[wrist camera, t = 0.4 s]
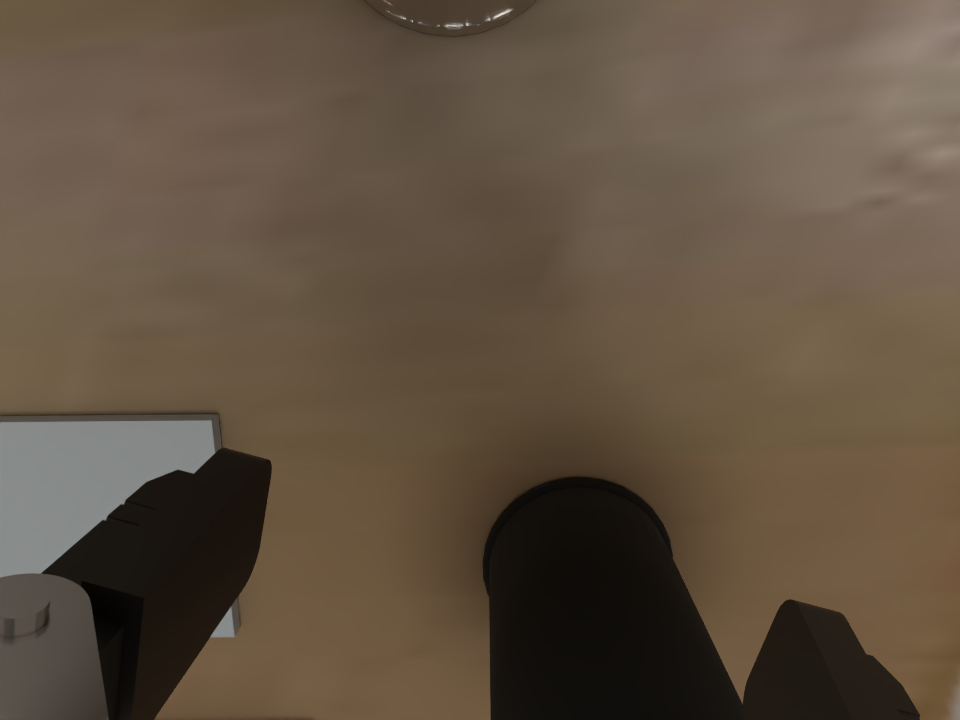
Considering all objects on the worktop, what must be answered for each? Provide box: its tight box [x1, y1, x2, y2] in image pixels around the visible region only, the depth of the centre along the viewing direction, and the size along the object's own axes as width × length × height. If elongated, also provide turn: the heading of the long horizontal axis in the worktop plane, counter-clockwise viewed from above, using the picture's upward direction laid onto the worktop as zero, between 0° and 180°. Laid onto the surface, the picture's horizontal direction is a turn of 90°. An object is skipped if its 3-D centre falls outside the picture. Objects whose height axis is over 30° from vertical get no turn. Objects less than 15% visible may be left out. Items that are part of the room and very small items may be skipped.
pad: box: [0, 414, 240, 637], centre depth 32 cm, size 10×10×1 cm
